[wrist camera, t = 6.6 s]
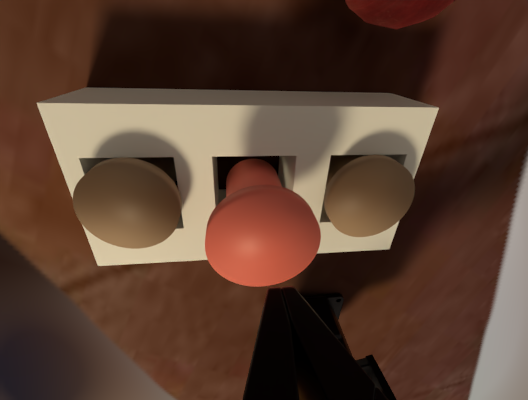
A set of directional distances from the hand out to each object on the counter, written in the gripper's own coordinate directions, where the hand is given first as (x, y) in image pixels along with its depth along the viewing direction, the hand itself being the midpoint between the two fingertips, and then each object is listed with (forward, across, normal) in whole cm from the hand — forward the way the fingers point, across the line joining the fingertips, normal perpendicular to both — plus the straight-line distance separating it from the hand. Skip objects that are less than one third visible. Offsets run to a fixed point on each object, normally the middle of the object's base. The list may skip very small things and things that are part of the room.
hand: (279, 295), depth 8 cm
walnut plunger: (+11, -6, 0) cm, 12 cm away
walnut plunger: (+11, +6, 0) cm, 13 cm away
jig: (+11, 0, 0) cm, 11 cm away
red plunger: (+8, 0, 0) cm, 8 cm away
